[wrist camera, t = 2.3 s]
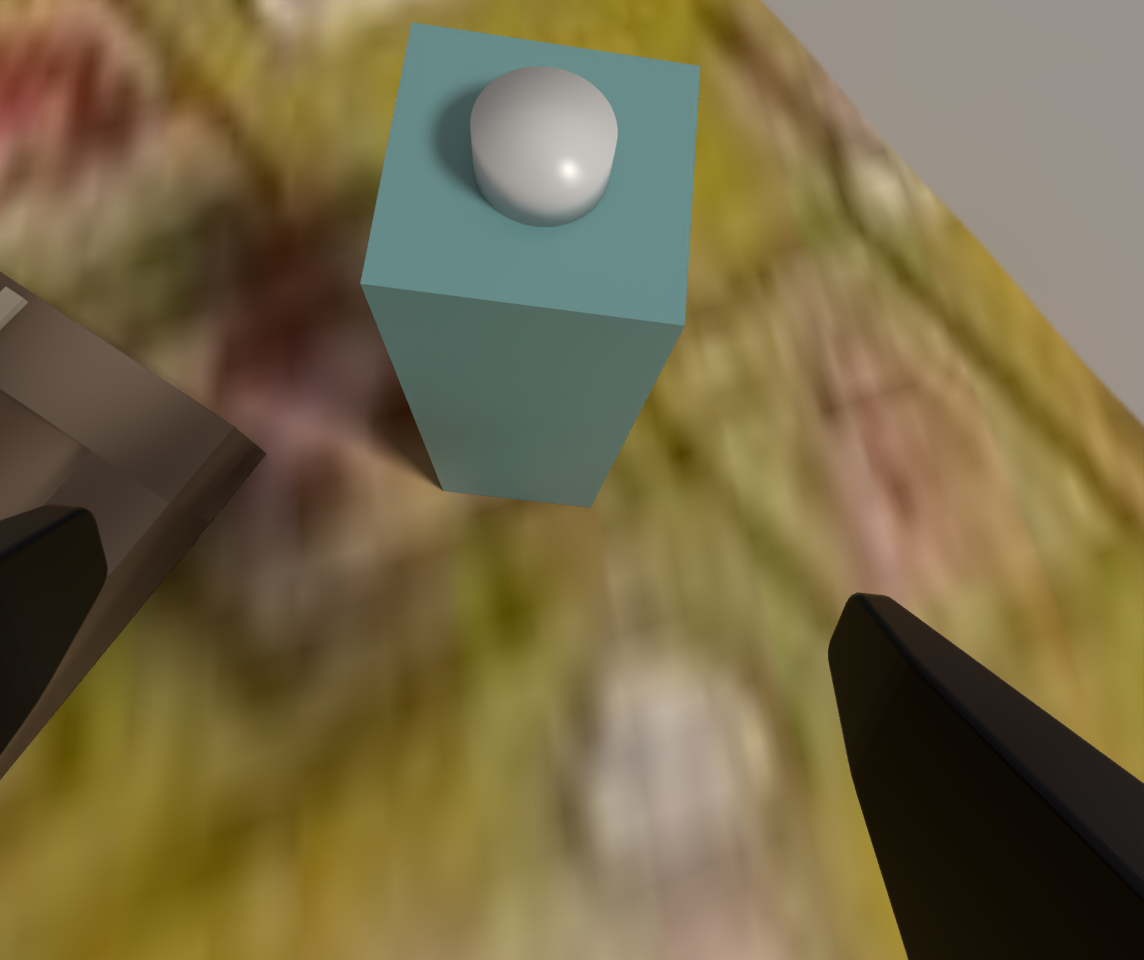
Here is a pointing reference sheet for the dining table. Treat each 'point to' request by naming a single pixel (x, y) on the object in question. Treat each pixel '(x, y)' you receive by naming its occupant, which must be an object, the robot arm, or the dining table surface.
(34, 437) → the brown square tray
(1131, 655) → the dining table surface
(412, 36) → the handle
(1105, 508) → the dining table surface
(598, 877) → the dining table surface
